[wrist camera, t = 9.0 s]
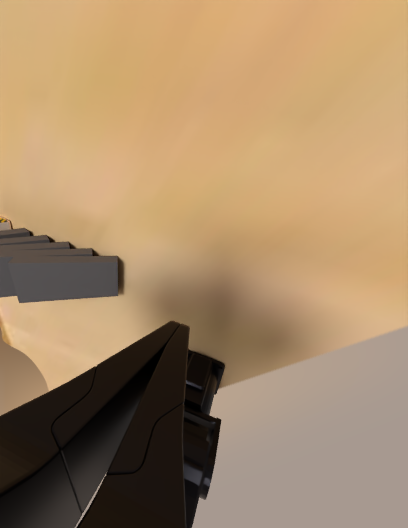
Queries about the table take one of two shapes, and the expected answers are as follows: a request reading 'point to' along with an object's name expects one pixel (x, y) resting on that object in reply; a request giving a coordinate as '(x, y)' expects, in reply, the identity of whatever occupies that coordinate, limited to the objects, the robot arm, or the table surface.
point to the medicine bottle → (5, 224)
